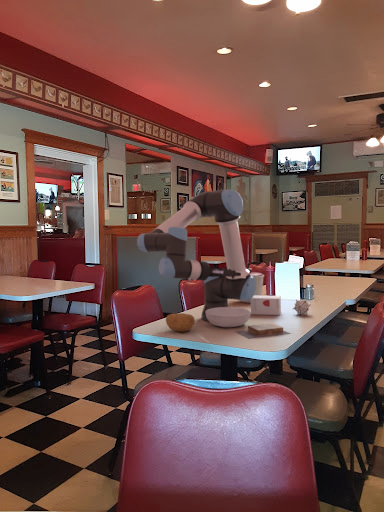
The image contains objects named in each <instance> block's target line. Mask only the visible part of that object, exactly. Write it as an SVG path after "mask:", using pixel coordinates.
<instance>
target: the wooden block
mask: <svg viewBox="0 0 384 512" xmlns="http://www.w3.org/2000/svg"><path fill="white" fill-rule="evenodd" d="M247 330H248V331H249V332H251V333H253V334H255V335H257V336H264V335H272V334H280V333H283V331H284V327H282V326H280V325H278V324H276V323H273V322H270V323H261V324H250V325H247Z"/></svg>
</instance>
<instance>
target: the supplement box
mask: <svg viewBox="0 0 384 512" xmlns="http://www.w3.org/2000/svg"><path fill="white" fill-rule="evenodd" d="M281 301H282V300H281V295H262V296H260V295H254V296H253V297H252V299H251V303H250V312H251V313H250V315H259V316H260V315H261V316H262V315H264V316H280V315H281V312H282V309H281V308H282V307H281V306H282V305H281V304H282V303H281Z"/></svg>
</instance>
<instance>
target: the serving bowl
mask: <svg viewBox="0 0 384 512" xmlns="http://www.w3.org/2000/svg"><path fill="white" fill-rule="evenodd" d="M205 313H206V317H207V319H208V321H207V322H209V323H211V324H212V325H214V326H217V327H220V328H235V327H240V326H243V325H245V324H246V323H247V322H249V320H250V318H251V310H249V309H247V308H243V307H236V306H234V307H232V306H229V307H218V308H211V309H208V310H206V311H205Z"/></svg>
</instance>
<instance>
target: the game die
mask: <svg viewBox="0 0 384 512" xmlns="http://www.w3.org/2000/svg"><path fill="white" fill-rule="evenodd" d="M295 301H296V302H295V303H294V307H293V308H292V310H295V311H296V312H297V313H296V314H299V316H302V315H305V314H306V315H308V311H309V310H310V309H309V307H311V304H309V303H308V302H307V300H304V298H302V299H300V300H298V299H295Z"/></svg>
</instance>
